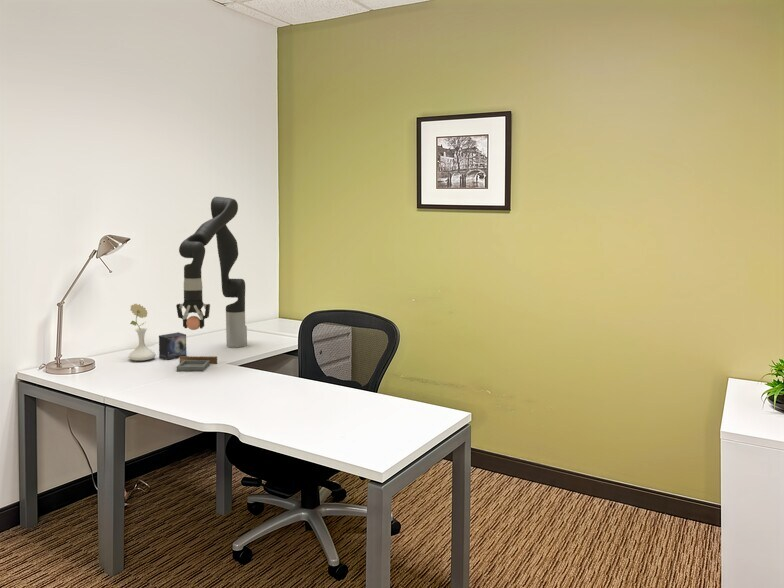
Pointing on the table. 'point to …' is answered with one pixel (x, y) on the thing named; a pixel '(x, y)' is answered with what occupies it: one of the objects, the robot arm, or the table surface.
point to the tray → (193, 365)
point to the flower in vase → (140, 336)
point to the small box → (172, 346)
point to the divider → (199, 358)
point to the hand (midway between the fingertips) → (193, 328)
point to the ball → (193, 322)
